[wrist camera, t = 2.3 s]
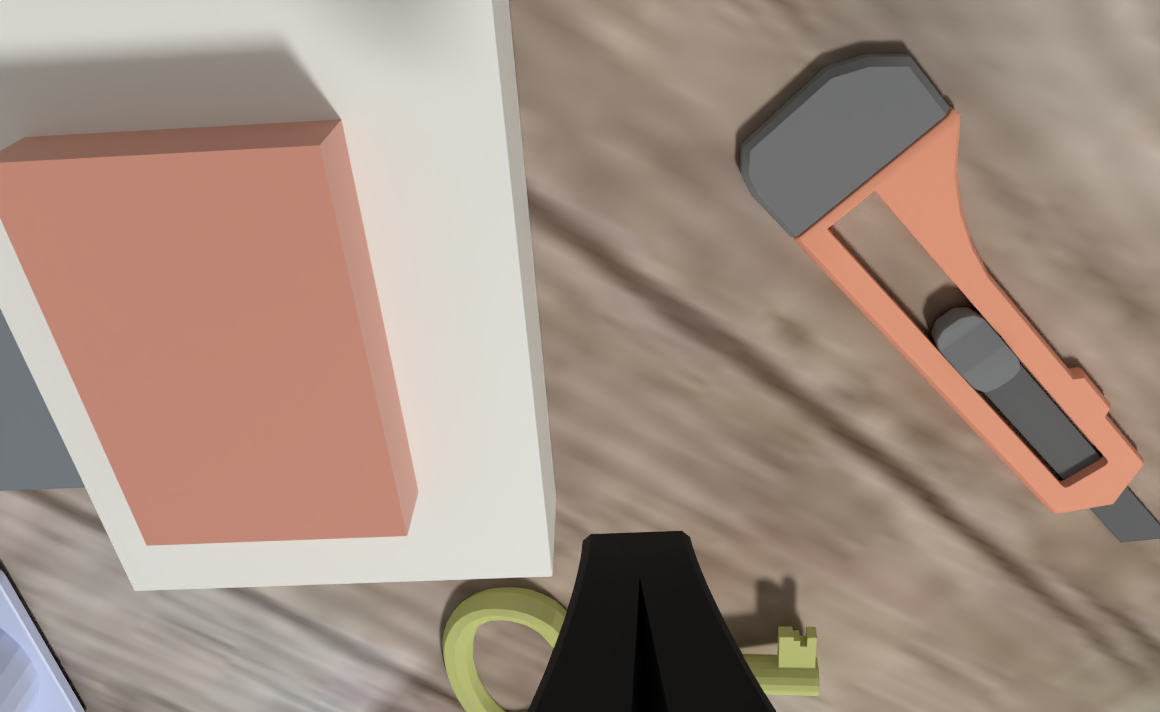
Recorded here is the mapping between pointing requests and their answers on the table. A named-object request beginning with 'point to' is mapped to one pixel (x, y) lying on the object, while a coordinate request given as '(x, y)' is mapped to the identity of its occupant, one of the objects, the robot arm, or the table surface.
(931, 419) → the table surface
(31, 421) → the mat
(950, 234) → the utility knife
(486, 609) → the key
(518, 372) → the white rectangular block
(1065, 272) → the table surface
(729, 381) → the table surface
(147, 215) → the pink rubber eraser
